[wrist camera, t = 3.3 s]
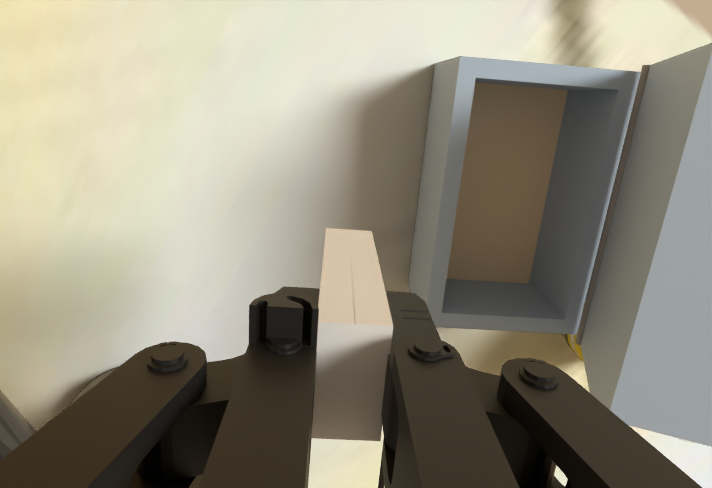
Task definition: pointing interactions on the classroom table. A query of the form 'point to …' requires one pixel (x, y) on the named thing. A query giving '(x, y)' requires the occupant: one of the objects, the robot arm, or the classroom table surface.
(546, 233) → the box
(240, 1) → the classroom table surface
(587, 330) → the lid
